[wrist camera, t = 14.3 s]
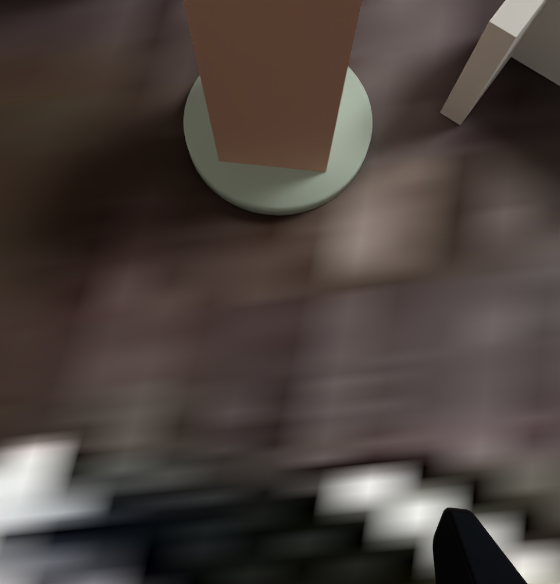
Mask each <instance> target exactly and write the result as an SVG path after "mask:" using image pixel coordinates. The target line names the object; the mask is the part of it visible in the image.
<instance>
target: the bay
mask: <svg viewBox="0 0 560 584" xmlns="http://www.w3.org/2000/svg"><path fill="white" fill-rule="evenodd" d="M511 57H512V58H514V59H516V60H517V61H519V62H521V63H522V64H524V65H526V66H527V67H529V68H531V69H532V70H534V71H536V72H537V73H539V74H541V75H542V76H544V77H546V78H547V79H549V80H551V81H552V82H554V83H556V84H557V85H559V86H560V0H505V2H504V3H503V4H502V6H501V7H500V8H499V10H498V11H497V12H496V13H495V15H494V16H493V17H492V19H491V20H490V21H489V23H488V25H487V27H486V29H485V30H484V32H483V34H482V36H481V38H480V40H479V41H478V43H477V45H476V47H475V49H474V51H473V52H472V54H471V56H470V58H469V60H468V62H467V64H466V65H465V67H464V69H463V71H462V73H461V75H460V76H459V78H458V80H457V82H456V84H455V86H454V87H453V89H452V91H451V93H450V95H449V97H448V99H447V100H446V102H445V104H444V106H443V108H442V110H441V111H440V113H441V114H443V115H445V116H446V117H448V118H449V119H451V120H452V121H454V122H456V123H457V124H459V125H461V124H462V122H463V121H464V120H465V118H466V117H467V116H468V114H469V113H470V112H471V110H472V109H473V108H474V106H475V105H476V103H477V102H478V101H479V99H480V98H481V97H482V95H483V94H484V93H485V91H486V90H487V89H488V87H489V86H490V85H491V83H492V82H493V81H494V79H495V78H496V77H497V75H498V74H499V73H500V71H501V70H502V68H503V67H504V66H505V64H506V63H507V62H508V60H509V59H510V58H511Z"/></svg>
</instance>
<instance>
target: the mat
mask: <svg viewBox="0 0 560 584" xmlns="http://www.w3.org/2000/svg"><path fill="white" fill-rule="evenodd" d="M183 122H184V134H185V140H186V144H187V147H188V150H189V153H190V156H191V159H192V161H193V164H194V166H195V168H196V170H197V172H198V173H199V175H200V176H201V178H202V179H203V180H204V182H205V183H206V184H207V185H208V186H209V187H210V188H211V189H212V190H213V191H214V192H215V193H216V194H218V195H219V196H220V197H221V198H223V199H224V200H226V201H228V202H229V203H231V204H233V205H235V206H237V207H239V208H242V209H244V210H247V211H251V212H254V213H259V214H265V215H292V214H297V213H303V212H306V211H309V210H312V209H315V208H317V207H319V206H322V205H324V204H326V203H327V202H329V201H330V200H332V199H334V198H335V197H337V196H338V195H339V194H340V193H341V192H342V191H344V190H345V189H346V188H347V187H348V185H349V184H350V183H351V182H352V181H353V179H354V178H355V176H356V175H357V173H358V172H359V170H360V168H361V166H362V164H363V162H364V159H365V156H366V153H367V150H368V147H369V144H370V141H371V135H372V112H371V106H370V103H369V99H368V96H367V94H366V92H365V89H364V87H363V86H362V84H361V82H360V81H359V79H358V78H357V76H356V75H355V74H354V73H353V72H352V70H351V69H350V68H349V67H348V69H347V73H346V78H345V83H344V88H343V93H342V98H341V102H340V107H339V112H338V117H337V122H336V126H335V131H334V136H333V141H332V146H331V151H330V155H329V160H328V165H327V170H326V172H321V171H311V170H301V169H291V168H281V167H271V166H261V165H252V164H242V163H232V162H222V161H219V159H218V155H217V150H216V146H215V141H214V137H213V132H212V128H211V123H210V119H209V114H208V110H207V105H206V101H205V96H204V92H203V87H202V83H201V78H200V76H199V77H198V78H197V80H196V82H195V83H194V85H193V87H192V88H191V91H190V93H189V96H188V98H187V102H186V105H185V110H184V119H183Z"/></svg>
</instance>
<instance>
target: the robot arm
mask: <svg viewBox="0 0 560 584" xmlns="http://www.w3.org/2000/svg"><path fill="white" fill-rule="evenodd" d="M433 557H434V567H435V577H436V584H527V583H526V581H525V580H524V579H523V578H522V576H521V575H520V574H519V572H518V571H517V570H516V568H515V567H514V566H513V564H512V563H511V562H510V561H509V559H508V558H507V557H506V555H505V554H504V553H503V551H502V550H501V549H500V548H499V546H498V545H497V544H496V542H495V541H494V540H493V538H492V537H491V536H490V535H489V533H488V532H487V531H486V529H485V528H484V527H483V525H482V524H481V523H480V522H479V520H478V519H477V518H476V516H475V515H474V514H473V513H472V512H471V511H469V510H466V509H458V508H446V509H445V510H444V512H443V514H442V516H441V519H440V522H439V524H438V527H437V529H436V532H435V535H434V538H433Z"/></svg>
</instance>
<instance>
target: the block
mask: <svg viewBox="0 0 560 584" xmlns="http://www.w3.org/2000/svg"><path fill="white" fill-rule="evenodd" d="M361 1H362V0H183V2H184V6H185V11H186V15H187V20H188V24H189V29H190V33H191V38H192V42H193V47H194V51H195V56H196V60H197V65H198V69H199V74H200V78H201V83H202V87H203V92H204V96H205V101H206V105H207V110H208V114H209V119H210V123H211V128H212V132H213V137H214V141H215V146H216V150H217V155H218V159H219V161H222V162H232V163H242V164H252V165H261V166H271V167H281V168H291V169H301V170H311V171H321V172H326V170H327V165H328V160H329V155H330V151H331V146H332V141H333V136H334V131H335V126H336V122H337V117H338V112H339V107H340V102H341V98H342V93H343V88H344V83H345V78H346V73H347V69H348V64H349V59H350V54H351V49H352V44H353V40H354V35H355V30H356V25H357V20H358V16H359V11H360V6H361Z"/></svg>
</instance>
